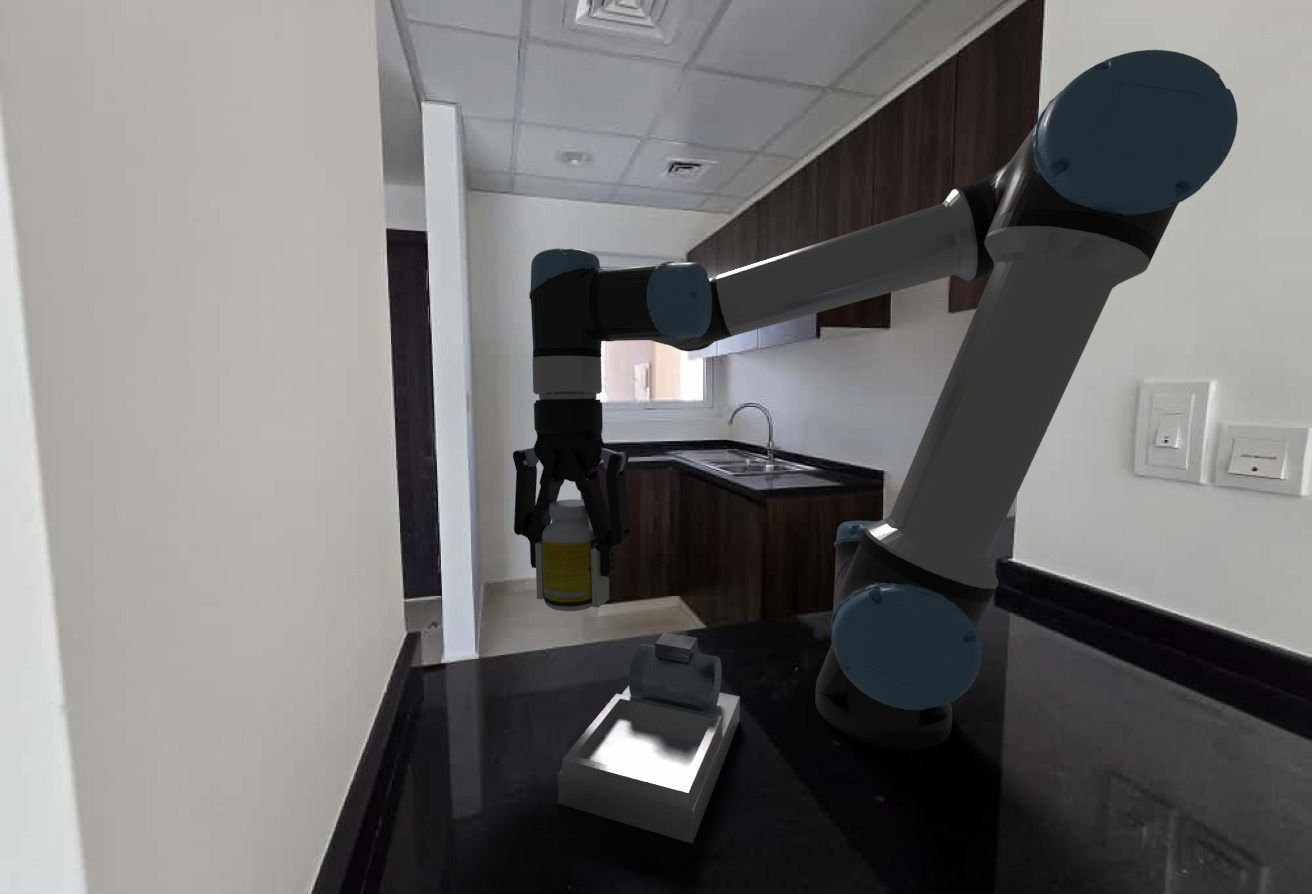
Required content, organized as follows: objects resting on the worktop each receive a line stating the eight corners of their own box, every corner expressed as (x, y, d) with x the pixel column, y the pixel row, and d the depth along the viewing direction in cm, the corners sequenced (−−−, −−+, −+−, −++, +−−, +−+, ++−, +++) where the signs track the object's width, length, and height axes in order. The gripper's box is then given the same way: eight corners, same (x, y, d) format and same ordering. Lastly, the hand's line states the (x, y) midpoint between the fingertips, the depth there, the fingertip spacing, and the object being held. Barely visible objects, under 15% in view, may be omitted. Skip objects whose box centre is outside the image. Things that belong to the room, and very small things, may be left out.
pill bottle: (590, 615, 60) (587, 509, 59) (534, 611, 62) (531, 507, 60) (608, 594, 66) (606, 498, 65) (557, 591, 68) (554, 497, 67)
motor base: (692, 843, 47) (694, 727, 46) (558, 803, 52) (557, 697, 51) (739, 721, 65) (741, 635, 64) (636, 699, 69) (636, 618, 68)
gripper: (661, 396, 62) (663, 598, 64) (514, 397, 69) (520, 579, 71) (634, 396, 55) (637, 623, 57) (474, 398, 62) (482, 599, 64)
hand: (572, 598), depth 64 cm, fingers closed on pill bottle, 6 cm apart
